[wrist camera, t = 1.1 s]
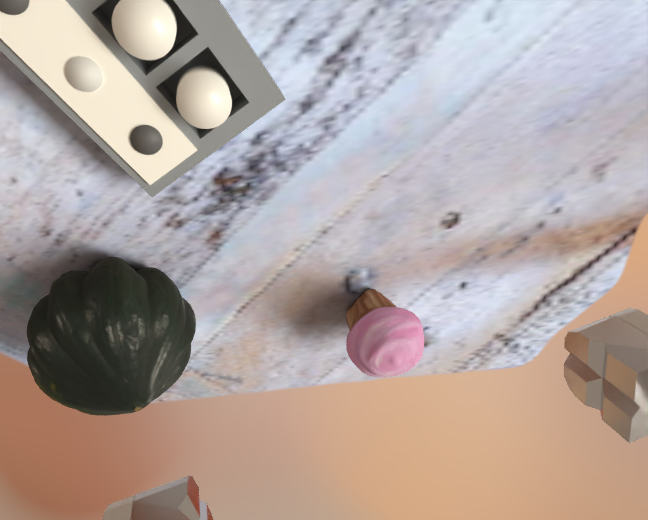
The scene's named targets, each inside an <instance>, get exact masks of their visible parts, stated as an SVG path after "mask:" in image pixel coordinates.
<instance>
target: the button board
mask: <svg viewBox="0 0 648 520" xmlns="http://www.w3.org/2000/svg"><path fill="white" fill-rule="evenodd" d="M119 1H120V0H0V51H1V52H2V53H3V54H4V55H5V56H6V57H7V58H9V59H10V60H11V61H12V62H13V63H14V64H15V65H16V66H17V67H18V68H19V69H20V70H21V71H22V72H23V73H24V74H25V75H26V76H27V77H28V78H29V79H30V80H31V81H32V82H33V83H34V84H35V85H36V86H37V87H39V88H40V89H41V90H42V91H43V92H44V93H45V94H46V95H47V96H48V97H49V98H50V99H51V100H52V101H53V102H54V103H55V104H56V105H57V106H58V107H59V108H60V109H61V110H62V111H63V112H64V113H65V114H66V115H68V116H69V117H70V118H71V119H72V120H73V121H74V122H75V123H76V124H77V125H78V126H79V127H80V128H81V129H82V130H83V131H84V132H85V133H86V134H87V135H88V136H89V137H90V138H91V139H92V140H93V141H94V142H95V143H97V144H98V145H99V146H100V147H101V148H102V149H103V150H104V151H105V152H106V153H107V154H108V155H109V156H110V157H111V158H112V159H113V160H114V161H115V162H116V163H117V164H118V165H119V166H120V167H121V168H122V169H123V170H124V171H126V172H127V173H128V174H129V175H130V176H131V177H132V178H133V179H134V180H135V181H136V182H137V183H138V184H139V185H140V186H141V187H142V188H143V189H144V190H145V191H146V192H147V193H148V194H149V195H150V196H151V197H153V196H155V195H156V194H158V193H159V192H160V191H162V190H163V189H164V188H166V187H167V186H168V185H170V184H171V183H172V182H174V181H175V180H177V179H178V178H179V177H181V176H182V175H183V174H185V173H186V172H187V171H189V170H190V169H192V168H193V167H194V166H196V165H197V164H198V163H200V162H201V161H202V160H204V159H205V158H206V157H208V156H209V155H211V154H212V153H213V152H215V151H216V150H217V149H219V148H220V147H221V146H223V145H224V144H226V143H227V142H228V141H230V140H231V139H232V138H234V137H235V136H236V135H238V134H239V133H241V132H242V131H243V130H245V129H246V128H247V127H249V126H250V125H251V124H253V123H254V122H255V121H257V120H258V119H260V118H261V117H262V116H264V115H265V114H266V113H268V112H269V111H270V110H272V109H273V108H275V107H276V106H277V105H279V104H280V103H281V102H283V101H284V100H285V98H284V96H283V94H282V93H281V91H280V89H279V87H278V86H277V84H276V83H275V81H274V80H273V78H272V77H271V76H270V74H269V73H268V71H267V70H266V68H265V67H264V65H263V64H262V62H261V61H260V59H259V58H258V57H257V55H256V54H255V52H254V51H253V49H252V48H251V46H250V45H249V43H248V42H247V40H246V39H245V37H244V36H243V35H242V33H241V32H240V30H239V29H238V27H237V26H236V24H235V23H234V21H233V20H232V18H231V17H230V15H229V14H228V13H227V11H226V10H225V8H224V7H223V5H222V4H221V2H220V1H219V0H166V1H167V2H168V3H169V4H170V6H171V7H172V9H173V11H174V13H175V16H176V20H177V32H176V38H175V42H174V44H173V47H172V48H171V50H170V51H169V52H168V53H167V54H166V55H165V56H163V57H161V58H159V59H156V60H143V59H139V58H137V57H134V56H132V55H131V54H129V53H128V52H127V51H125V50H124V49H123V48H122V46H121V45H120V44H119V42H118V41H117V39H116V37H115V35H114V32H113V28H112V15H113V11H114V9H115V7H116V5H117V4H118V2H119ZM197 65H206V66H210V67H212V68H214V69H216V70H217V71H219V72H220V73H221V74H222V75H223V76H224V78H225V79H226V81H227V83H228V86H229V91H230V95H231V99H232V108H231V112H230V114H229V116H228V118H227V119H226V121H225V122H224V123H222V124H221V125H219V126H217V127H215V128H211V129H201V128H197V127H195V126H192V125H191V124H189V123H188V122H187V121H186V120H185V119H184V118H183V117H182V116H181V114H180V113H179V110H178V108H177V103H176V95H177V86H178V81H179V79H180V77H181V75H182V74H183V73H184V72H185V71H186V70H187V69H189V68H190V67H193V66H197Z"/></svg>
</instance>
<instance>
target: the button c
mask: <svg viewBox="0 0 648 520" xmlns="http://www.w3.org/2000/svg"><path fill="white" fill-rule="evenodd" d="M176 103H177V108H178V110H179V113H180V114H181V116H182V117H183V118H184V119H185V120H186V121H187V122H188V123H189V124H191V125H192V126H195V127H197V128H201V129H211V128H215V127H217V126H219V125H221V124H222V123H224V122H225V121H226V119H227V118H228V116H229V114H230V112H231V108H232V99H231V95H230V91H229V86H228V83H227V81H226V79H225V78H224V76H223V75H222V74H221V73H220V72H219V71H217V70H216V69H214V68H212V67H210V66H206V65H197V66H193V67H190V68H189V69H187V70H186V71H185V72H184V73H183V74H182V75H181V77H180V79H179V81H178V86H177V95H176Z"/></svg>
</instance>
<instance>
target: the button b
mask: <svg viewBox="0 0 648 520" xmlns="http://www.w3.org/2000/svg"><path fill="white" fill-rule="evenodd" d="M112 28H113V32H114V35H115V37H116V39H117V41H118V42H119V44H120V45H121V46H122V48H123V49H124V50H125V51H127V52H128V53H129V54H131V55H132V56H134V57H137V58H139V59H143V60H156V59H159V58H161V57H163V56H165V55H166V54H167V53H168V52H169V51H170V50H171V48H172V47H173V44H174V42H175V38H176V32H177V20H176V16H175V13H174V11H173V9H172V7H171V6H170V4H169V3H168V2H167V1H166V0H120V1H119V2H118V4H117V5H116V7H115V9H114V11H113V15H112Z"/></svg>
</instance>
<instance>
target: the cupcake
mask: <svg viewBox="0 0 648 520" xmlns="http://www.w3.org/2000/svg"><path fill="white" fill-rule="evenodd" d="M346 319H347V323H348V326H349V331H350V332H349V333H348V336H347V352H348V355H349V357H350V359H351V360H352V362H353V363H354V364H355V365H356V366H357V367H358V368H359V369H360V370H361V371H362V372H363V373H365V374H367V375H369V376H374V377H388V376H396V375H400V374H402V373H405V372H407V371H408V370H410V369H411V368H412V367H414V366H415V365H416V363H417V362H418V361H419V360H420V359H421V357H422V354H423V348H424V333H423V327H422V324H421V322H420V320H419V318H418V317H417V316H416V315H415V314H414V313H412V312H410V311H408V310H405V309H402V308H397V307H396V306H395V305H394V304H393V303H392V302H391V301H390V300H388V299H387V298H386V297H384V296H383V295H382V294H381V293H380V292H378V291H376V290H374V289H370V290H367V291H365V292H364V293H363V294H362V295H361V296H360V297H359V298H358V299H357V301H356V302H355V303H354V304H353V305H352V306H351V307H350V308H349V309H348V310H347V312H346Z"/></svg>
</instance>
